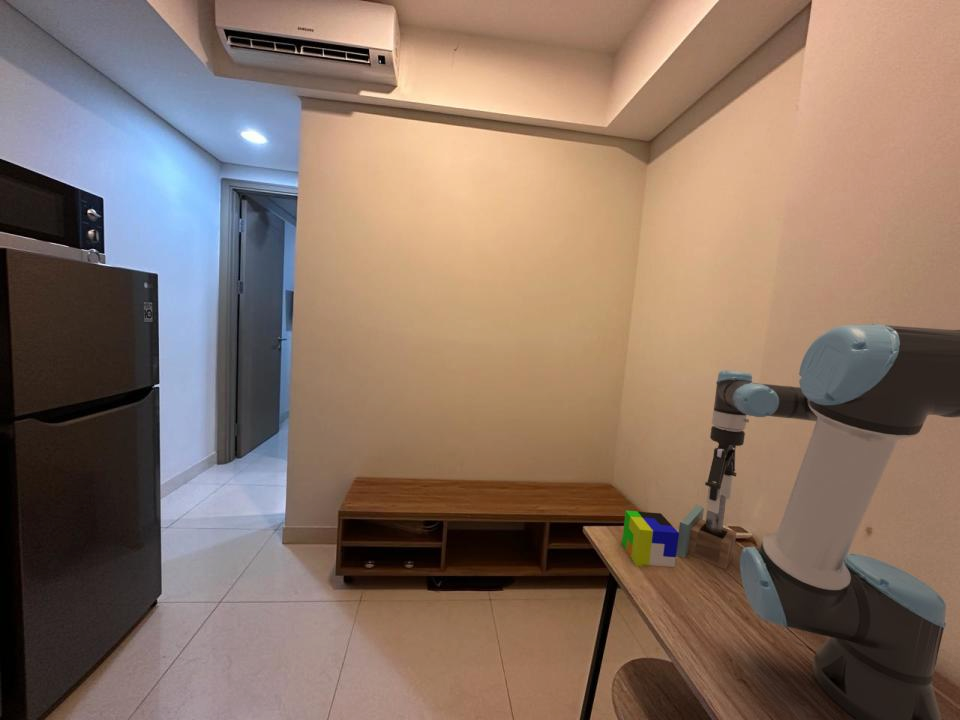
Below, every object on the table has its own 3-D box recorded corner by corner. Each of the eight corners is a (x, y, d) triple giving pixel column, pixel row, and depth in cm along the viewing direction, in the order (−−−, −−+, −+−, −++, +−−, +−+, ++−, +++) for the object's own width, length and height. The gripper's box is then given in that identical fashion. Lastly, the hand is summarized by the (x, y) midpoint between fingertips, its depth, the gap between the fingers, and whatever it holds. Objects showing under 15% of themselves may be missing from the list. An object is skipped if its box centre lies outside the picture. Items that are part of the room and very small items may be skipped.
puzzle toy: (674, 569, 96) (679, 532, 95) (635, 566, 96) (640, 529, 95) (656, 546, 106) (660, 513, 105) (621, 543, 106) (625, 510, 105)
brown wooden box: (725, 569, 96) (729, 544, 95) (687, 553, 102) (690, 529, 102) (732, 556, 102) (736, 532, 102) (696, 541, 109) (699, 518, 108)
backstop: (762, 596, 88) (768, 556, 87) (675, 556, 101) (679, 522, 100) (771, 568, 99) (777, 532, 98) (692, 536, 113) (696, 504, 112)
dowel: (701, 550, 102) (707, 495, 101) (705, 545, 105) (710, 491, 104) (717, 557, 99) (724, 500, 98) (721, 551, 102) (727, 496, 101)
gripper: (735, 438, 87) (723, 524, 89) (753, 425, 105) (743, 496, 107) (699, 430, 93) (689, 511, 94) (722, 419, 110) (713, 487, 112)
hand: (718, 504), depth 100 cm, fingers open, 13 cm apart
